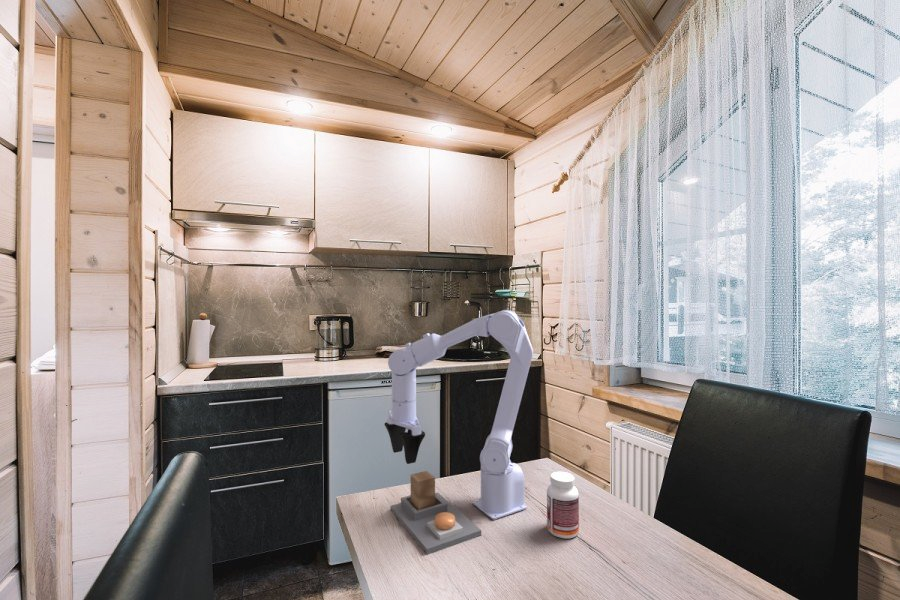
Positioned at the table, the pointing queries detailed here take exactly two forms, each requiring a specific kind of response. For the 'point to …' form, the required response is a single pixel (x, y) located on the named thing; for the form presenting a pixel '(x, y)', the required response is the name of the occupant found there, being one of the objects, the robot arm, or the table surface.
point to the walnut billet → (422, 490)
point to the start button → (444, 520)
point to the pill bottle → (562, 506)
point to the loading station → (424, 524)
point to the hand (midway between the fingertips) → (404, 456)
